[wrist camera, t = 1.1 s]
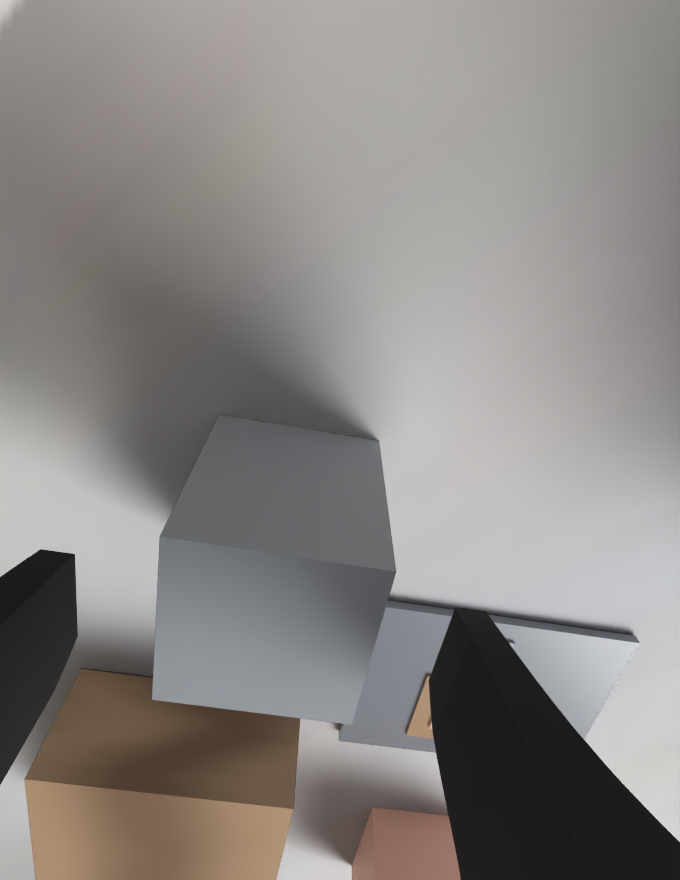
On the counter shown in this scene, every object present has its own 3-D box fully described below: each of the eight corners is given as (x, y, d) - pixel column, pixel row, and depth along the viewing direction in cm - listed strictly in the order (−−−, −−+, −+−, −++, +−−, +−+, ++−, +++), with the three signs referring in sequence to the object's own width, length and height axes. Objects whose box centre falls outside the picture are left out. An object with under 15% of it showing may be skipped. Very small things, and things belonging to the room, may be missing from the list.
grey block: (379, 440, 14) (396, 571, 9) (349, 564, 16) (351, 725, 11) (219, 413, 14) (159, 536, 9) (206, 543, 15) (151, 700, 11)
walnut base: (301, 697, 18) (293, 808, 15) (273, 821, 21) (261, 936, 18) (81, 668, 17) (24, 779, 14) (85, 801, 21) (39, 916, 17)
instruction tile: (635, 635, 17) (643, 648, 16) (564, 760, 19) (569, 774, 19) (376, 598, 16) (377, 610, 16) (339, 732, 19) (338, 746, 18)
